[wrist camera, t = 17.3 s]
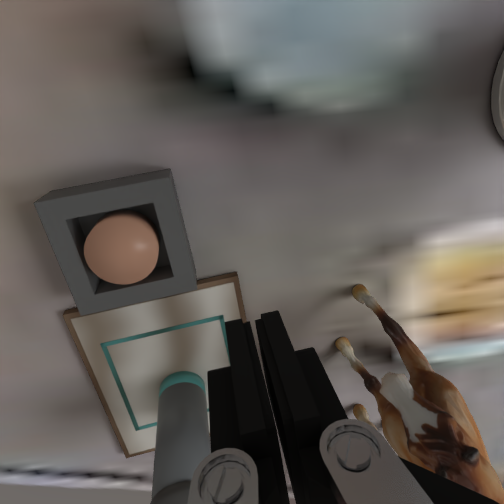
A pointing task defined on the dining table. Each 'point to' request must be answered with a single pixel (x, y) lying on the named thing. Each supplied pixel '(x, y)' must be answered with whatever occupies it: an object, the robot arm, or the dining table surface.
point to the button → (122, 247)
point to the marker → (179, 436)
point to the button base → (87, 215)
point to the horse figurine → (424, 413)
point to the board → (154, 351)
